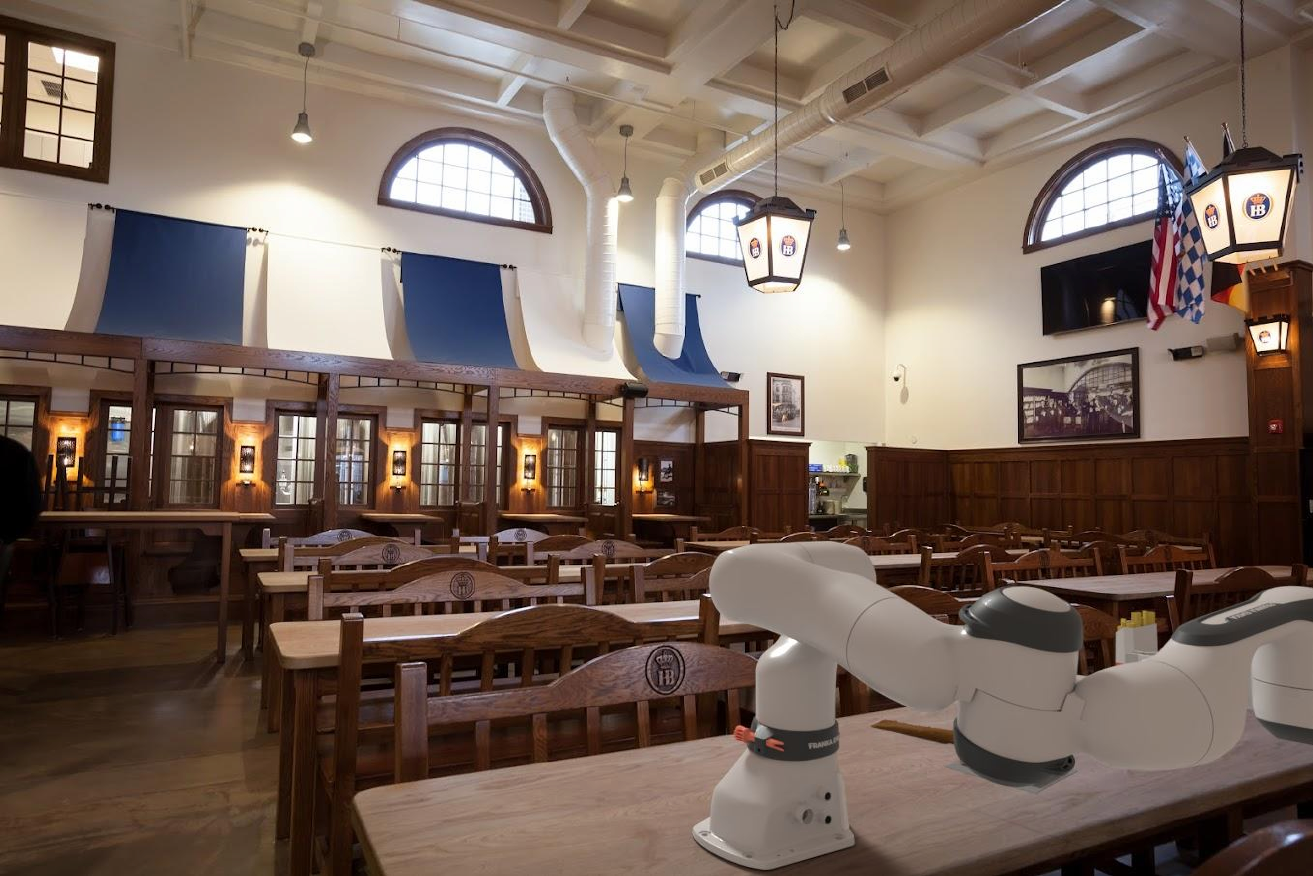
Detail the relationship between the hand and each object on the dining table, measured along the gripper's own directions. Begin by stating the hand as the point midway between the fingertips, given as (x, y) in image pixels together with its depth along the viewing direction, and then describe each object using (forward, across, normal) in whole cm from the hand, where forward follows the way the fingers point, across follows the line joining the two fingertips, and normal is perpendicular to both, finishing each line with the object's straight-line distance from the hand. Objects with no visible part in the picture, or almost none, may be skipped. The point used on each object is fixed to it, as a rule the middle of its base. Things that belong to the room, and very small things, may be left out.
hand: (1128, 657), depth 118 cm
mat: (+18, 0, -22) cm, 28 cm away
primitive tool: (+39, +5, -22) cm, 45 cm away
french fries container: (+24, +75, -22) cm, 82 cm away
